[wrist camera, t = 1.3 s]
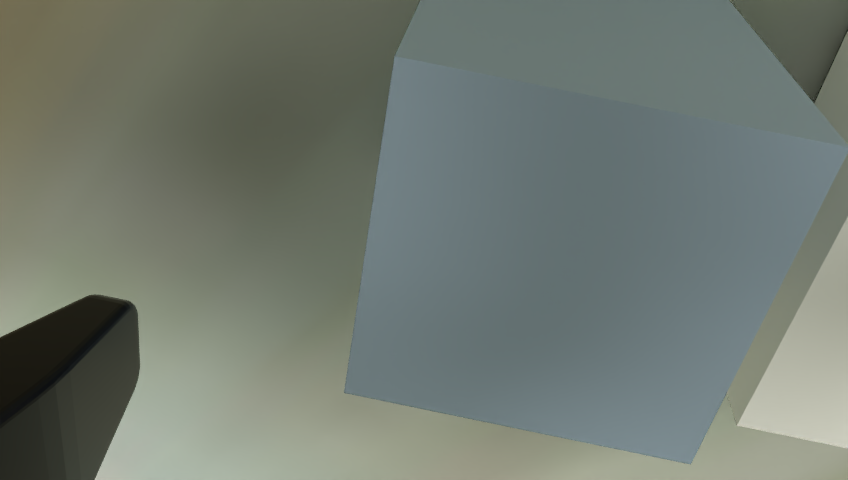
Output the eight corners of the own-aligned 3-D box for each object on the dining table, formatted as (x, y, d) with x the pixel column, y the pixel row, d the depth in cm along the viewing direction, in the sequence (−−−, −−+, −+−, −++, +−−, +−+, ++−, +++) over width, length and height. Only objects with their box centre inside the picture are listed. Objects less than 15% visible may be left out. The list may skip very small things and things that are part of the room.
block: (718, -13, 14) (850, 147, 8) (634, 219, 17) (690, 464, 11) (450, -66, 14) (395, 56, 8) (408, 172, 17) (344, 392, 11)
